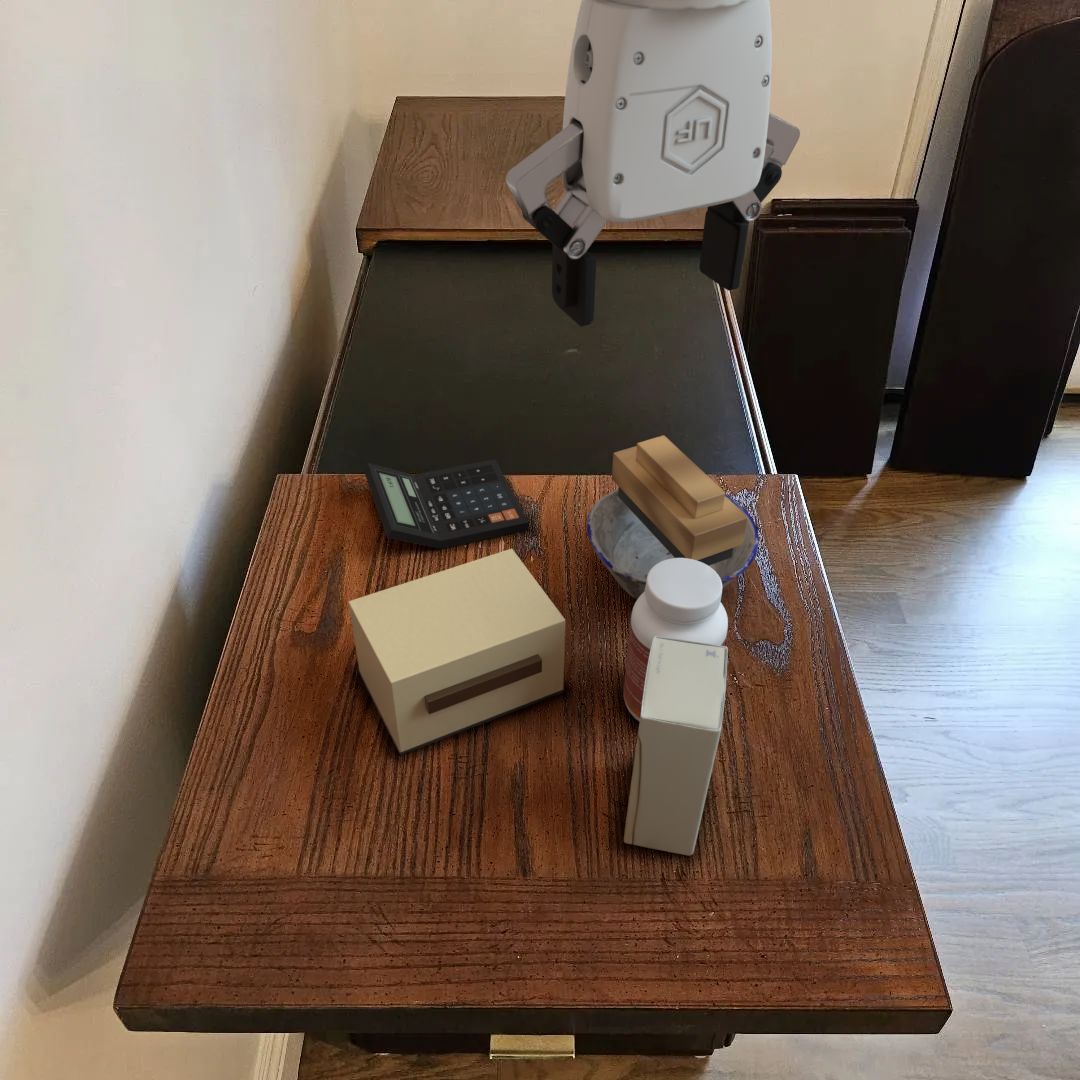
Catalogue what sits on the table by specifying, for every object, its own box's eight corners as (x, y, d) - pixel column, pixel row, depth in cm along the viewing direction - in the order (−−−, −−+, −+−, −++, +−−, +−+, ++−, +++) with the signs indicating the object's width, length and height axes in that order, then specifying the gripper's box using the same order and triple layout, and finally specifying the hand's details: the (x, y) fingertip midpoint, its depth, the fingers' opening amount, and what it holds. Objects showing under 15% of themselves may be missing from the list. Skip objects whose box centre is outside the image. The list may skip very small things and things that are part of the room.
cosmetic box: (636, 763, 64) (650, 631, 56) (705, 775, 64) (729, 642, 56) (622, 847, 60) (636, 715, 52) (696, 861, 59) (722, 730, 51)
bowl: (783, 605, 76) (793, 557, 72) (630, 652, 72) (634, 603, 69) (699, 507, 85) (705, 461, 82) (560, 544, 81) (561, 496, 78)
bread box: (568, 697, 69) (570, 625, 64) (403, 762, 64) (393, 690, 60) (513, 618, 74) (512, 547, 70) (358, 672, 70) (346, 600, 66)
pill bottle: (663, 751, 65) (679, 632, 58) (604, 692, 69) (613, 573, 62) (732, 709, 68) (756, 590, 61) (672, 655, 72) (688, 536, 65)
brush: (740, 560, 72) (751, 500, 69) (688, 579, 71) (696, 518, 67) (659, 478, 80) (665, 421, 76) (610, 494, 78) (614, 436, 75)
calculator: (528, 530, 82) (528, 501, 80) (389, 559, 79) (386, 530, 77) (495, 467, 89) (494, 439, 87) (366, 491, 86) (362, 463, 84)
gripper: (548, -9, 41) (544, 361, 52) (876, -44, 47) (810, 294, 58) (472, -42, 46) (483, 301, 57) (777, -70, 52) (733, 245, 63)
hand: (648, 297), depth 57 cm, fingers open, 9 cm apart
